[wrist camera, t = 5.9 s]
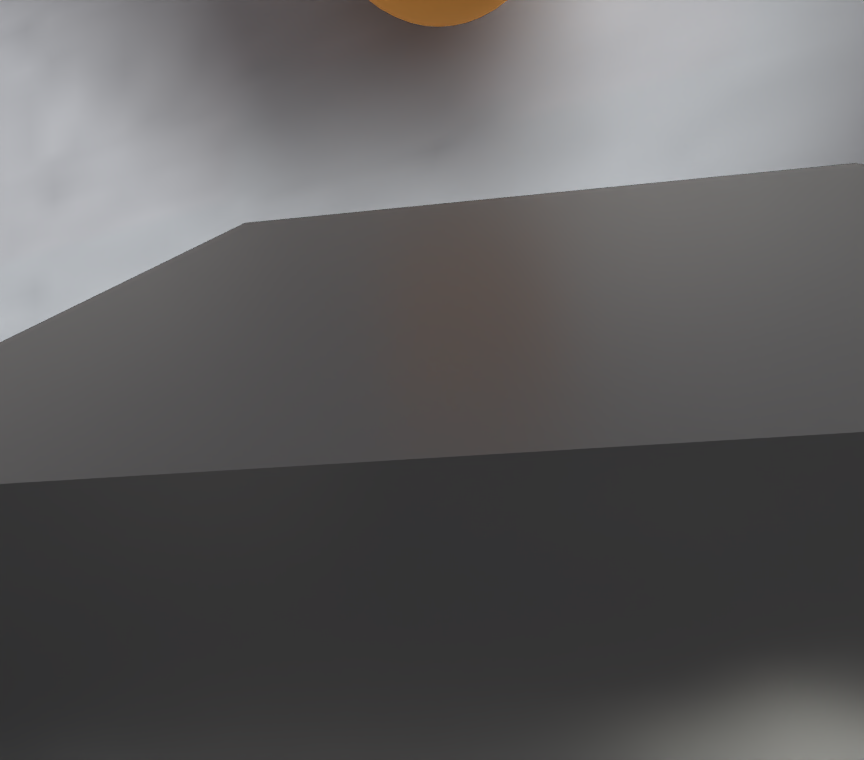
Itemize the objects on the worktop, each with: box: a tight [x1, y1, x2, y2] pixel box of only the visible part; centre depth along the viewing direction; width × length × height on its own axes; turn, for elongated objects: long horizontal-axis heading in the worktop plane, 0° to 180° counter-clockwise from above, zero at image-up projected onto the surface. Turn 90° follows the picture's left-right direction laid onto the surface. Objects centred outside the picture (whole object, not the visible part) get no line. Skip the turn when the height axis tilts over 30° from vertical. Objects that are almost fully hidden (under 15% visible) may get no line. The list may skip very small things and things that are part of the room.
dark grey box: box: [0, 163, 864, 760], centre depth 7 cm, size 8×8×7 cm
